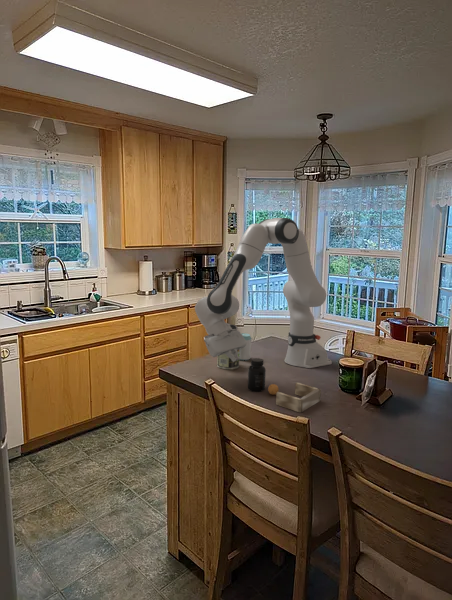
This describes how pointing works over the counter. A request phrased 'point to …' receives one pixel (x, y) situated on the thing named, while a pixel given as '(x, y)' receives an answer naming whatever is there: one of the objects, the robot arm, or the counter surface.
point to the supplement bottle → (256, 375)
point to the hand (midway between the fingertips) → (236, 360)
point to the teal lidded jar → (246, 348)
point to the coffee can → (227, 362)
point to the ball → (273, 389)
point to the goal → (299, 404)
